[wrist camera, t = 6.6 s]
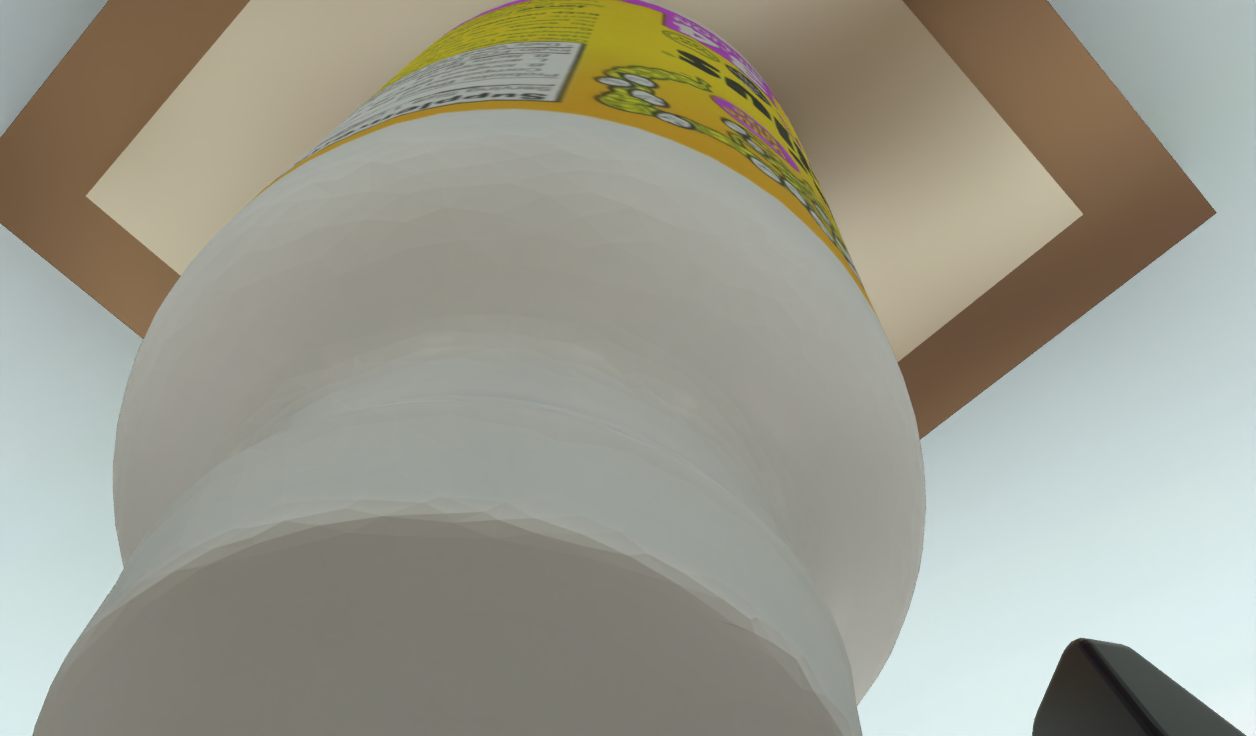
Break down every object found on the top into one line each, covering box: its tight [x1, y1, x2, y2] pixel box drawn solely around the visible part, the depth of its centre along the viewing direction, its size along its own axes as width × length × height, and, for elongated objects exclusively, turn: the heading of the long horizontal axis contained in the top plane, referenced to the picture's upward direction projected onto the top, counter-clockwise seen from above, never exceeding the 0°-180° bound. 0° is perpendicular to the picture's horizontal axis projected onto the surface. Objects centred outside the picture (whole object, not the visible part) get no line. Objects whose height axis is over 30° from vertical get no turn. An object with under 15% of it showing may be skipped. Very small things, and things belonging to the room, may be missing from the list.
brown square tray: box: [0, 0, 1216, 439], centre depth 19 cm, size 14×14×2 cm
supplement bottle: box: [33, 0, 926, 736], centre depth 12 cm, size 7×7×13 cm
